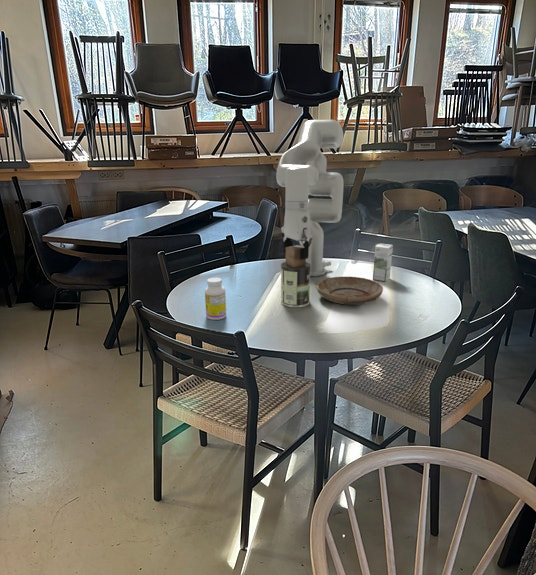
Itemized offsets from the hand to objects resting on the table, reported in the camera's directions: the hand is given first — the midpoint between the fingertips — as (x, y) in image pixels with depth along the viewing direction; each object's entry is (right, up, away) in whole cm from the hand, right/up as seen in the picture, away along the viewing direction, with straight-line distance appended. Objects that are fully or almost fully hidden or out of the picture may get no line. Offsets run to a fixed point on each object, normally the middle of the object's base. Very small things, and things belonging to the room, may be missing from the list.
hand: (295, 255), depth 149 cm
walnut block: (0, -3, +1) cm, 3 cm away
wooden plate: (+20, -15, +9) cm, 27 cm away
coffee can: (0, -16, +6) cm, 18 cm away
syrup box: (+37, -8, +30) cm, 48 cm away
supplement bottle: (-27, -21, -6) cm, 34 cm away
